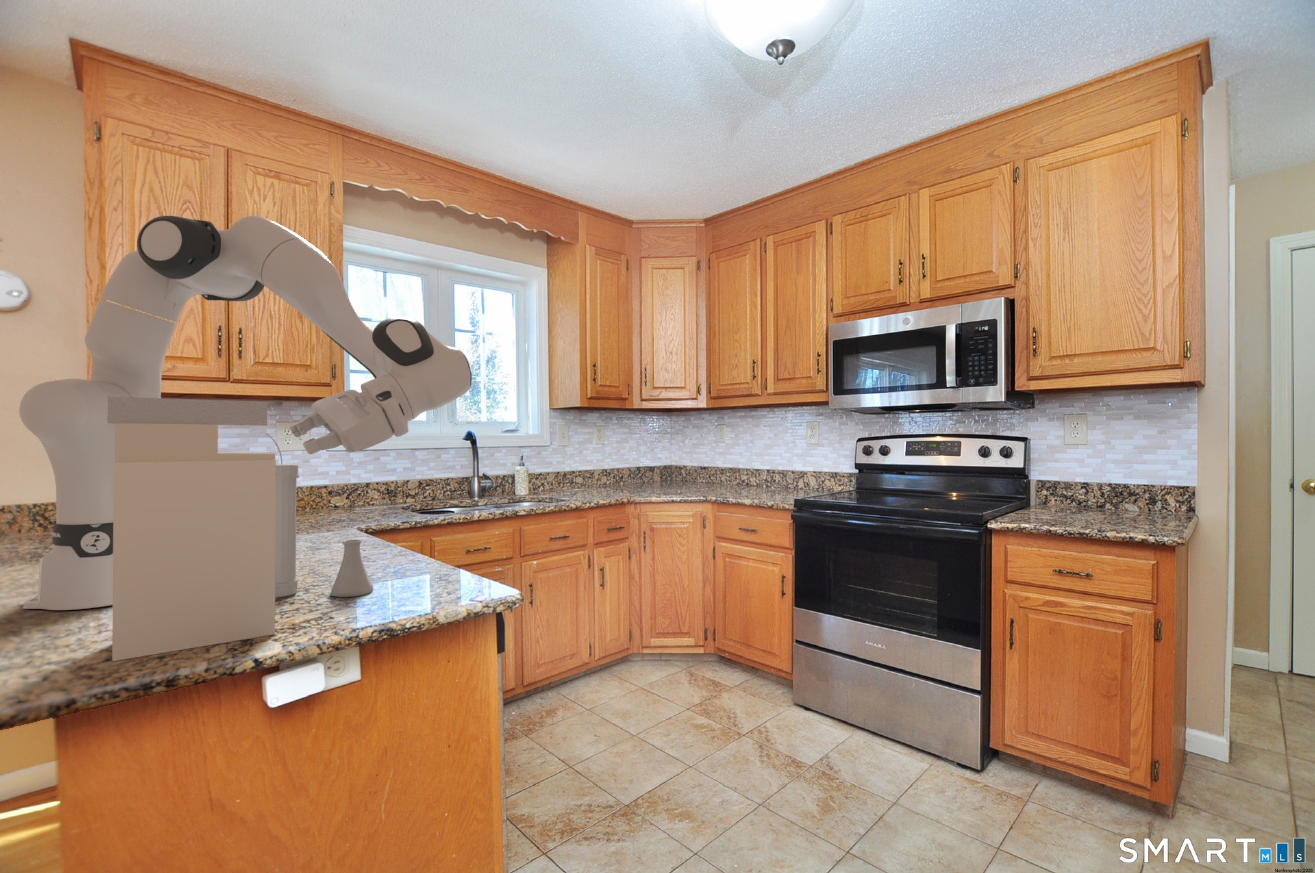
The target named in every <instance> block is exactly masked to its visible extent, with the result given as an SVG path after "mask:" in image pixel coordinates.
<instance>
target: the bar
mask: <svg viewBox="0 0 1315 873" xmlns="http://www.w3.org/2000/svg"><path fill="white" fill-rule="evenodd" d="M108 423H109V424H115V423H136V424H206V425H218V426H244V427H245V426H246V427H248V426H253V427H255V426H256V427H257V426H259V427H260V426H261V427H262V426H263V427H265V426H268V402H267V401H248V400H246V401H245V400H224V399H223V400H222V399H221V400H220V399H194V398H193V399H190V398H165V397H163V398H162V397H161V398H137V397H108Z"/></svg>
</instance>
